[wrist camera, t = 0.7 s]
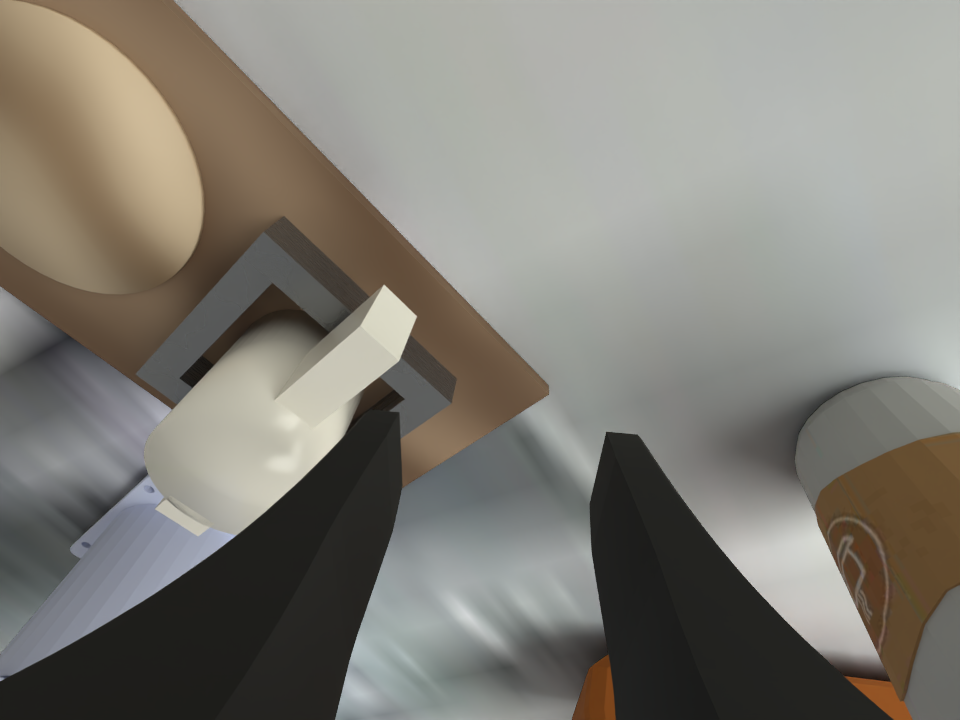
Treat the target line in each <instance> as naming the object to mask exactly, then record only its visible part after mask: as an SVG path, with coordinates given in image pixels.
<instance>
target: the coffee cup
mask: <svg viewBox="0 0 960 720" xmlns="http://www.w3.org/2000/svg"><path fill="white" fill-rule="evenodd" d="M795 465H796V472H797V475H798V477H799V480H800V482H801V484H802V486H803V488H804V490H805V492H806V494H807V497H808V499H809V501H810V503H811V505H812V507H813V509H814V511H815V513H816V517H817V522H818V526H819V528H820V530H821V532H822V534H823V537H824V539H825V541H826V543H827V545H828V547H829V549H830V552H831V554H832V556H833V558H834V560H835V562H836V565H837V567H838V569H839V571H840V573H841V575H842V577H843V580H844V582H845V584H846V586H847V588H848V590H849V593H850V595H851V597H852V599H853V601H854V603H855V606H856V608H857V610H858V612H859V614H860V616H861V618H862V621H863V623H864V625H865V627H866V629H867V631H868V634H869V636H870V638H871V640H872V642H873V644H874V646H875V649H876V651H877V653H878V655H879V657H880V659H881V662H882V664H883V666H884V668H885V670H886V672H887V674H888V677H889V679H890V681H891V683H892V685H893V687H894V690H895V692H896V694H897V696H898V698H899V700H900V701H904V702H905V705H906V707H907V709H908V711H909V713H910V715H911V717H912V719H913V720H960V390H958V389H956V388H954V387H951V386H949V385H947V384H944V383H940V382H933V381H929V380H926V379H919V378H913V377H889V378H881V379H877V380H873V381H869V382H865V383H861V384H858V385H856V386H854V387H851V388H849V389H847V390H845V391H842V392H840V393H838V394H837V395H835V396H834V397H832V398H831V399H829V400H828V401H826V402H825V403H823V404H822V405H821V406H820V407H819V408H818V409H817V410H816V411H815V412H814V413H813V414H812V415H811V416H810V417H809V418H808V419H807V421H806V422H805V424H804V426H803V428H802V429H801V431H800V433H799V436H798V440H797V445H796V456H795Z"/></svg>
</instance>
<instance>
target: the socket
mask: <svg viewBox="0 0 960 720" xmlns="http://www.w3.org/2000/svg"><path fill="white" fill-rule="evenodd" d="M272 283H273V284H275V285H276V286H277V287H278V288H279V289H280V290H281V291H283V292H284V293H285V294H286V295H287V296H288V297H289V298H290V299H292V300H293V301H294V302H295V303H296V304H297V305H298V306H300V307H301V308H302V309H303V310H304V311H305V312H306V313H308V314H309V315H310V316H311V317H312V318H313V319H314V320H316V321H317V322H318V323H319V324H320V325H321V326H322V327H323V328H325V329H326V330H327V331H328V332H329V333H330V332H331V331H332V330H334V329H335V328H336V327H337V326H338V325H339V324H340V323H341V322H343V321H344V320H345V319H346V318H347V317H348V316H349V315H350V314H351V313H353V312H354V311H355V310H356V309H357V308H358V307H359V306H360V305H362V304H363V303H364V302H365V301H366V300H367V299H368V298H369V297H370V296H369V295H368V294H367V293H366V292H364V291H363V290H362V289H361V288H360V287H359V286H358V285H357V284H356V283H355V282H354V281H353V280H352V279H351V278H350V277H349V276H347V275H346V274H345V273H344V272H343V271H342V270H341V269H340V268H339V267H338V266H337V265H336V264H335V263H334V262H333V261H332V260H330V259H329V258H328V257H327V256H326V255H325V254H324V253H323V252H322V251H321V250H320V249H319V248H318V247H317V246H316V245H315V244H313V243H312V242H311V241H310V240H309V239H308V238H307V237H306V236H305V235H304V234H303V233H302V232H301V231H300V230H299V229H298V228H296V227H295V226H294V225H293V224H292V223H291V222H290V221H289V220H288V219H287V218H286V217H285V216H283V217H282V218H281V219H279V220H278V221H277V222H276V223H274V224H273V225H272V226H270V227H269V228H268V229H266V230H265V231H264V232H263V233H262V234H261V235H260V236H259V237H258V238H257V240H256V241H255V242H254V243H253V244H252V245H251V246H250V247H249V248H248V250H247V251H246V252H245V253H244V254H243V255H242V256H241V257H240V258H239V260H238V261H237V262H236V263H235V264H234V265H233V266H232V267H231V268H230V270H229V271H228V272H227V273H226V274H225V275H224V276H223V277H222V278H221V280H220V281H219V282H218V283H217V284H216V285H215V286H214V287H213V288H212V290H211V291H210V292H209V293H208V294H207V295H206V296H205V297H204V298H203V300H202V301H201V302H200V303H199V304H198V305H197V306H196V307H195V308H194V309H193V311H192V312H191V313H190V314H189V315H188V316H187V317H186V318H185V319H184V321H183V322H182V323H181V324H180V325H179V326H178V327H177V328H176V329H175V331H174V332H173V333H172V334H171V335H170V336H169V337H168V338H167V339H166V341H165V342H164V343H163V344H162V345H161V346H160V347H159V348H158V349H157V351H156V352H155V353H154V354H153V355H152V356H151V357H150V358H149V359H148V361H147V362H146V363H145V364H144V365H143V366H142V367H141V368H140V369H139V371H138V372H137V373H136V375H137V376H138V377H140V378H141V379H142V380H144V381H145V382H147V383H148V384H149V385H151V386H152V387H154V388H155V389H156V390H158V391H159V392H160V393H162V394H163V395H165V396H166V397H167V398H169V399H170V400H172V401H173V402H174V403H176V404H178V403H179V402H180V401H181V400H182V399H183V398H184V397H185V396H186V395H187V394H188V393H189V392H190V390H191V389H192V388H193V387H194V386H195V385H196V384H197V383H198V382H199V381H200V380H201V379H202V378H203V377H204V375H205V374H206V373H207V372H208V371H209V370H210V369H211V368H212V367H213V366H214V364H212V363H211V362H210V361H208V360H207V359H206V358H205V357H203V356H202V355H203V354H204V353H205V352H206V351H207V350H208V349H209V348H210V347H211V346H212V345H213V344H214V343H215V342H216V341H217V340H218V339H219V338H220V337H221V335H222V334H223V333H224V332H225V331H226V330H227V329H228V328H229V327H230V326H231V325H232V324H233V323H234V322H235V321H236V320H237V319H238V318H239V317H240V316H241V315H242V314H243V313H244V312H245V311H246V310H247V309H248V308H249V307H250V306H251V305H252V304H253V303H254V302H255V301H256V300H257V299H258V297H259V296H260V295H261V294H262V293H263V292H264V291H265V290H266V289H267V288H268V287H269V286H270V285H271V284H272ZM380 378H382V379H383V380H384V381H385V382H386V383H387V384H388V385H390V386H391V387H392V388H393V389H394V390H393V391H391V392H390V393H389V394H387V395H386V396H385V397H384V398H382V399H381V400H380V401H378V402H377V403H376V404H374V405H373V406H372V407H370V408H369V409H368V410H366V411H365V412H364V413H362V414H361V415H360V416H358V417H357V418H356V419H354V420H353V421H352V422H351V423H350V425H349V427H348V429H347V431H346V433H347V432H348V431H349V430H350V429H351V428H352V427H353V426H354V425H355V423H356V422H357V421H358V420H359V419H360V418H361V417H362V416H363V415H364V414H365V413H366V412H367V411H369V410H380V411H391V412H400V436H401V438H403V437H404V436H405V435H407V434H408V433H410V432H411V431H413V430H414V429H416V428H417V427H418V426H420V425H421V424H423V423H424V422H426V421H427V420H429V419H430V418H431V417H433V416H434V415H436V414H437V413H439V412H440V411H441V410H443V409H444V408H446V407H447V406H449V405H450V404H451V403H452V399H453V394H454V390H455V385H456V381H457V378H456V377H455V376H454V375H453V374H452V373H450V372H449V371H448V370H447V369H446V368H445V367H444V366H443V365H442V364H441V363H440V362H439V361H438V360H437V359H436V358H435V357H433V356H432V355H431V354H430V353H429V352H428V351H427V350H426V349H425V348H424V347H423V346H422V345H421V344H420V343H419V342H418V341H416V340H415V339H414V338H413V337H412V336H411V335H409V338H408V340H407V343H406V345H405V348H404V350H403V353H402V355H401V358H400V360H399V362H397V363H396V364H395V365H394V366H392V367H391V368H390V369H388V370H387V371H386V372H385V373H383V374H382V375H381V376H380ZM346 433H345V434H346Z"/></svg>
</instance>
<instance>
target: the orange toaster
mask: <svg viewBox="0 0 960 720" xmlns="http://www.w3.org/2000/svg"><path fill="white" fill-rule="evenodd" d="M844 677H845V678H847V679H848V680H849V681H850V682H851V683H852V684H853V685H854V686H855V687H857V688H858V689H859V690H860V691H861V692H862V693H863V694H865V695H866V696H867V697H868V698H869V699H870V700H871V701H873V702H874V703H875V704H876V705H877V706H878V707H879V708H881V709H882V710H883V711H884V712H885V713H887V714H888V715H889V716H890V717H891V718H893V719H894V720H913V719H912V717H911V715H910V713H909V711H908V709H907V707H906V705H905V702H904V701H900V700H899V698H898V696H897V694H896V692H895V690H894V687H893V685H892V683H891V682H888V681H880V680H872V679H863V678H855V677H847V676H844ZM572 720H616V717H615V704H614V691H613V683H612V675H611V667H610V661H609V655H606V656H605V657H604V658H602V659H601V660H599V661H598V662H597V663H595V664H594V665H592V666H591V667H590V668H589V670H588V673H587V676H586V679H585V682H584V685H583V688H582V691H581V694H580V696H579V699H578V702H577V705H576V708H575V711H574V714H573V717H572Z"/></svg>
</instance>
